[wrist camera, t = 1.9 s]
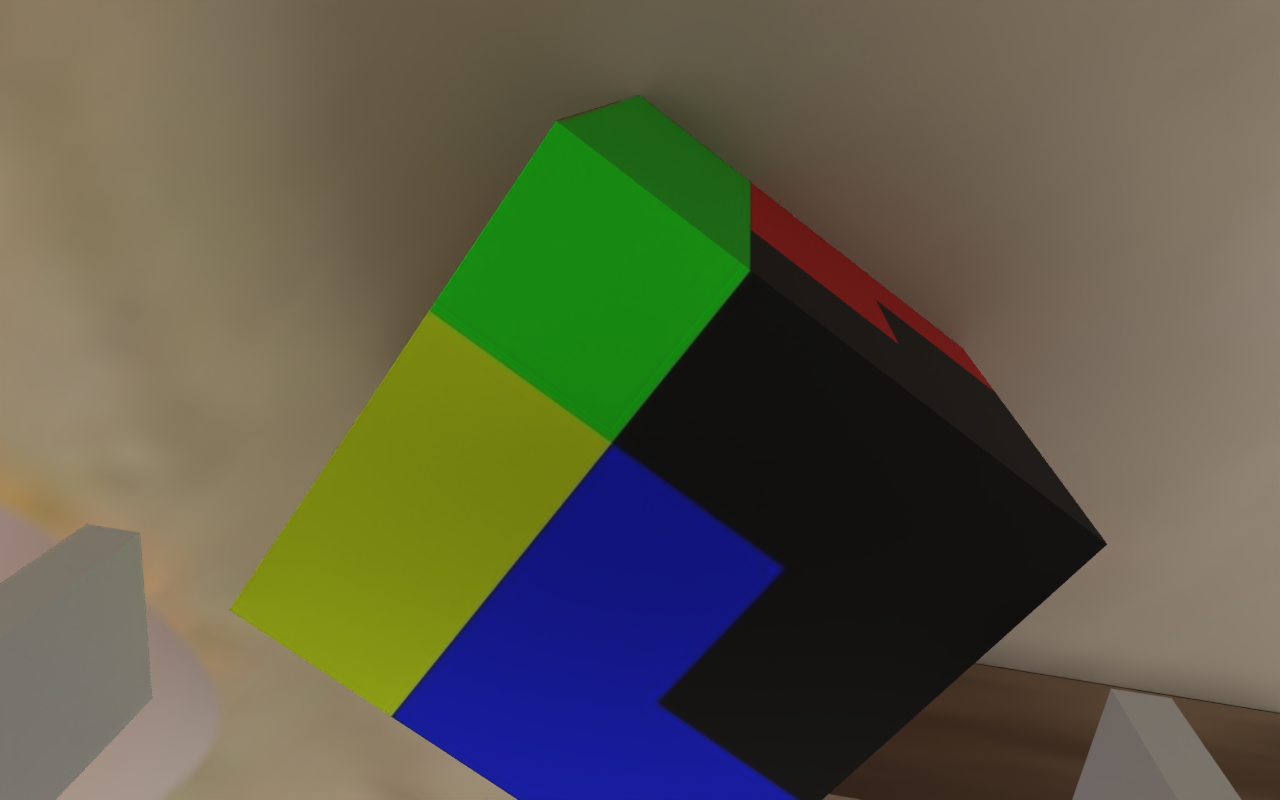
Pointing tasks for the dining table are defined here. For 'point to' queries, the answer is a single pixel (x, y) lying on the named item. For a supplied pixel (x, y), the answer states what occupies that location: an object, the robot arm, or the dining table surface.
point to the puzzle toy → (665, 496)
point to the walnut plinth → (1041, 742)
